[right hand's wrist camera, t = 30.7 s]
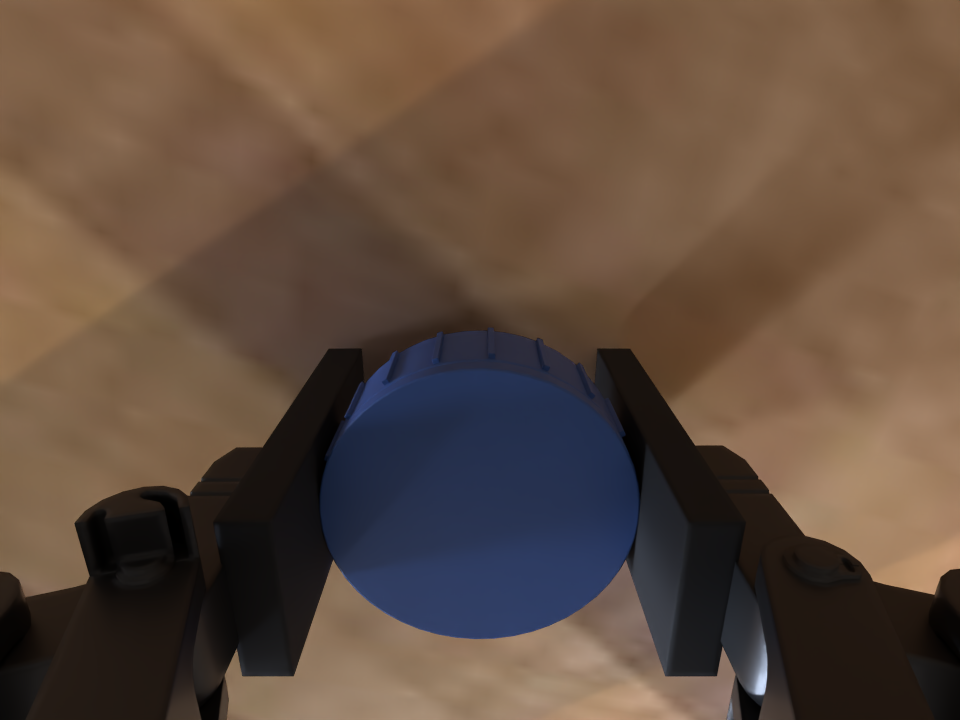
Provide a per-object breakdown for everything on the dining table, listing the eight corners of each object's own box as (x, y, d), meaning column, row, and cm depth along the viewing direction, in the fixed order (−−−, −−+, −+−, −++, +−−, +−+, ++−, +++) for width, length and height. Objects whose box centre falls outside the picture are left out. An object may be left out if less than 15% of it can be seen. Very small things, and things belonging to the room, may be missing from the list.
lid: (678, 464, 12) (712, 523, 10) (474, 614, 14) (473, 688, 12) (487, 263, 11) (488, 291, 9) (281, 454, 12) (246, 512, 10)
